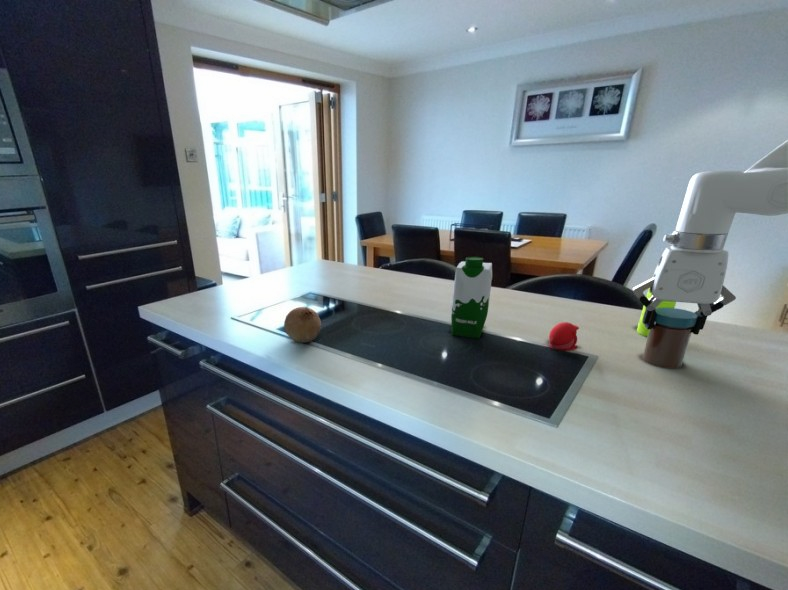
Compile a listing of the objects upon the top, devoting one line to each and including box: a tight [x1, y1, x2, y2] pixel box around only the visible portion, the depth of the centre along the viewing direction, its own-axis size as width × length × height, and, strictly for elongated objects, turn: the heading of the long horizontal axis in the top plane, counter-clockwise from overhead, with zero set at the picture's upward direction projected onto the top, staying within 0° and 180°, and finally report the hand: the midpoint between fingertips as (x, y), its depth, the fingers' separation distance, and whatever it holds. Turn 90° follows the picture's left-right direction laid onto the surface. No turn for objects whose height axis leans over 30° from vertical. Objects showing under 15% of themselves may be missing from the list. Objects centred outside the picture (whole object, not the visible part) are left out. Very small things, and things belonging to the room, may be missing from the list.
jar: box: [641, 322, 693, 369], centre depth 81 cm, size 7×7×11 cm
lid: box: [654, 307, 698, 328], centre depth 79 cm, size 7×7×2 cm
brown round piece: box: [283, 306, 322, 344], centre depth 100 cm, size 10×9×10 cm
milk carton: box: [450, 256, 493, 339], centre depth 99 cm, size 9×9×20 cm
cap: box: [548, 321, 580, 352], centre depth 91 cm, size 8×6×6 cm
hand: (670, 329), depth 80 cm, fingers closed on lid, 6 cm apart
